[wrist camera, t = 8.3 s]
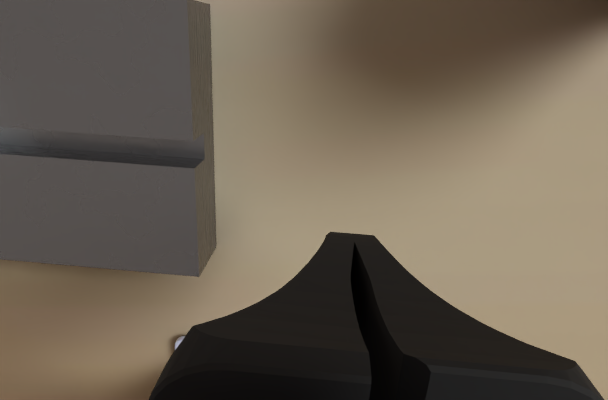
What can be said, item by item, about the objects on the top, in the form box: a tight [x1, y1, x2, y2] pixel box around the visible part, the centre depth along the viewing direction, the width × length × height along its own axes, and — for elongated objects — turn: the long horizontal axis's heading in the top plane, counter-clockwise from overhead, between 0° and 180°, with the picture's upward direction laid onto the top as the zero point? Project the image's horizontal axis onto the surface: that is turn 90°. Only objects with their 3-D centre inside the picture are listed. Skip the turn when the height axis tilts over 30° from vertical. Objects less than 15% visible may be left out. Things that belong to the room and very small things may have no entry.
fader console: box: [0, 0, 216, 277], centre depth 20 cm, size 12×19×3 cm, turn 87°
